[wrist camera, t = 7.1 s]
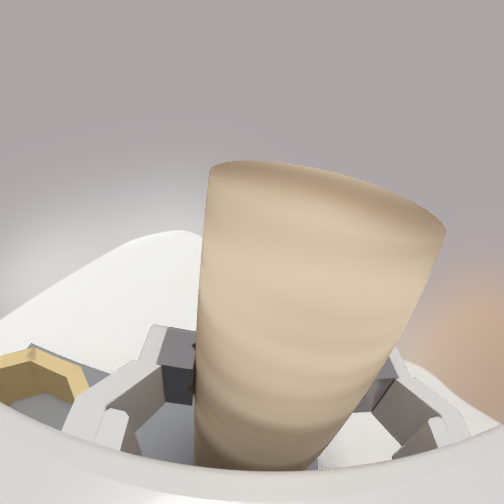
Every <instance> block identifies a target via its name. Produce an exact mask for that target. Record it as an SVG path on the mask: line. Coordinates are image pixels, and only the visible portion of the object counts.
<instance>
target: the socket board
mask: <svg viewBox="0 0 504 504" xmlns="http://www.w3.org/2000/svg"><path fill="white" fill-rule="evenodd" d="M109 375H111V374H109V373H106V372H103V371H100V370H97V369H94V368H91V367H89V366H86V365H83V364H80V363H78V362H75V361H72V360H70V359H67V358H65V357H62V356H60V355H57V354H55V353H53V352H50V351H48V350H46V349H43V348H41V347H39V346H37V345H34V344H32V343H31V344H30V345H29V347H28V348H27V349H25V350H21V351H18V352H14V353H10V354H6V355H2V356H0V402H1V403H3V404H5V405H6V406H8V407H10V408H12V409H14V410H16V411H18V412H20V413H22V414H24V415H26V416H28V417H30V418H32V419H34V420H36V421H39V422H41V423H43V424H45V425H48V426H50V427H52V428H55V429H57V430H60V431H62V428H63V426H64V423H65V421H66V419H67V416H68V414H69V412H70V410H71V407H72V405H73V403H74V401H75V398H76V396H78V395H79V394H81V393H82V392H84V391H86V390H87V389H89V388H90V387H92V386H93V385H95V384H97V383H98V382H100V381H101V380H103V379H104V378H106V377H108V376H109ZM135 435H136V438H137V441H138V444H139V446H140V449H141V452H142V456H143V457H148V458H152V459H157V460H162V461H167V462H173V463H179V464H185V465H192V466H194V398H193V404H192V406H189V405H182V404H175V403H168V402H165V404H164V405H163V406H162V407H161V408H160V409H159V410H158V411H157V412H156V413H155V414H154V415H153V416H152V417H151V418H150V419H149V420H148V421H147V422H145V423H144V424H143V425H142V426H141V427H140V428H139V429H138V430H137V431H136V432H135ZM307 470H318V464H317V459H316V460H315V461H314V462H313V463H312V465H311V466H310V467H309V468H308V469H307ZM307 470H306V471H307Z"/></svg>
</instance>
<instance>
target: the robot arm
mask: <svg viewBox="0 0 504 504" xmlns="http://www.w3.org/2000/svg"><path fill="white" fill-rule="evenodd" d="M195 355H196V331H190V330H184V329H179V328H173V327H166V326H161V325H156V324H153V325H152V326H151V328H150V331H149V333H148V336H147V338H146V341H145V343H144V346H143V349H142V351H141V354H140V357H139V359H138V361H137V360H132V361H131V362H129V363H128V364H126V365H125V366H123V367H122V368H120V369H119V370H117V371H115V372H114V373H112V374H111V375H109V376H108V377H106V378H104V379H103V380H101V381H100V382H98V383H97V384H95V385H93V386H92V387H90V388H89V389H87V390H86V391H84V392H82V393H81V394H79V395H78V396H76V398H75V401H74V403H73V405H72V407H71V410H70V412H69V414H68V416H67V419H66V421H65V423H64V426H63V428H62V431H60V430H57V429H55V428H52V427H50V426H48V425H45V424H43V423H41V422H39V421H36V420H34V419H32V418H30V417H28V416H26V415H24V414H22V413H20V412H18V411H16V410H14V409H12V408H10V407H8V406H6V405H5V404H3V403H1V402H0V504H504V423H503V424H501V425H499V426H497V427H494V428H492V429H490V430H487V431H485V432H482V433H480V434H477V435H475V436H472V437H471V435H470V432H469V430H468V428H467V426H466V424H465V422H464V420H463V417H462V415H461V413H460V411H459V410H458V409H456V408H455V407H454V406H452V405H451V404H450V403H448V402H447V401H446V400H444V399H443V398H442V397H440V396H439V395H438V394H436V393H435V392H434V391H432V390H431V389H430V388H428V387H427V386H426V385H424V384H423V383H422V382H420V381H419V380H418V379H416V378H415V377H411V376H410V374H409V371H408V369H407V367H406V365H405V363H404V361H403V359H402V357H401V355H400V353H399V352H398V350H397V348H396V347H395V346H394V348H393V350H392V352H391V354H390V355H389V357H388V359H387V360H386V362H385V364H384V365H383V367H382V369H381V370H380V372H379V374H378V375H377V377H376V378H375V380H374V382H373V383H372V385H371V386H370V388H369V389H368V391H367V392H366V394H365V395H364V397H363V398H362V400H361V401H360V403H359V404H358V406H357V407H356V408H355V410H354V411H353V413H358V412H372V414H373V415H374V416H375V417H376V419H377V420H378V421H379V422H380V423H381V424H382V425H383V426H384V427H385V428H386V429H387V431H388V432H389V433H390V434H391V435H392V436H393V437H394V438H395V439H396V440H397V441H398V442H399V444H400V445H401V446H402V447H401V448H400V449H399V450H397V451H396V452H395V453H394V454H393V456H392V459H393V460H388V461H382V462H377V463H371V464H365V465H358V466H351V467H343V468H333V469H322V470H307V471H243V470H228V469H217V468H208V467H199V466H192V465H185V464H179V463H173V462H167V461H162V460H157V459H152V458H148V457H143V456H142V452H141V449H140V446H139V444H138V441H137V438H136V435H135V432H136V431H137V430H138V429H139V428H140V427H141V426H142V425H143V424H144V423H145V422H147V421H148V420H149V419H150V418H151V417H152V416H153V415H154V414H155V413H156V412H157V411H158V410H159V409H160V408H161V407H162V406H163V405H164V404H165V402H168V403H175V404H182V405H189V406H192V404H193V398H194V390H195Z"/></svg>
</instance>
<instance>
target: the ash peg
mask: <svg viewBox="0 0 504 504" xmlns="http://www.w3.org/2000/svg"><path fill="white" fill-rule="evenodd" d="M445 235H446V229H445V227H444V225H443V224H442V223H441V222H440V221H439V220H438V219H437V218H436V217H435V216H434V215H433V214H431V213H430V212H429V211H427V210H426V209H424V208H422V207H421V206H419V205H417V204H416V203H414V202H412V201H410V200H408V199H406V198H404V197H402V196H400V195H398V194H396V193H394V192H391V191H389V190H387V189H384V188H382V187H379V186H376V185H374V184H371V183H368V182H365V181H362V180H359V179H356V178H352V177H349V176H346V175H342V174H338V173H335V172H331V171H327V170H322V169H317V168H313V167H307V166H302V165H296V164H288V163H281V162H271V161H233V162H226V163H221V164H218V165H215V166H214V167H212V168H211V170H210V172H209V180H208V189H207V200H206V209H205V219H204V230H203V241H202V252H201V265H200V279H199V294H198V310H197V329H196V355H195V390H194V466H199V467H208V468H217V469H228V470H243V471H306V470H307V469H308V468H309V467H310V466H311V465H312V463H313V462H314V461H315V460H316V459H317V458H318V456H319V455H320V454H321V453H322V452H323V450H324V449H325V448H326V447H327V446H328V444H329V443H330V442H331V441H332V439H333V438H334V437H335V435H336V434H337V433H338V432H339V430H340V429H341V428H342V426H343V425H344V424H345V422H346V421H347V420H348V418H349V417H350V415H351V414H352V413H353V411H354V410H355V408H356V407H357V406H358V404H359V403H360V401H361V400H362V398H363V397H364V395H365V394H366V392H367V391H368V389H369V388H370V386H371V385H372V383H373V382H374V380H375V378H376V377H377V375H378V374H379V372H380V370H381V369H382V367H383V365H384V364H385V362H386V360H387V359H388V357H389V355H390V354H391V352H392V350H393V348H394V346H395V345H396V343H397V341H398V339H399V337H400V335H401V334H402V332H403V330H404V328H405V326H406V324H407V322H408V320H409V318H410V316H411V314H412V312H413V310H414V308H415V306H416V304H417V302H418V300H419V298H420V295H421V294H422V291H423V289H424V287H425V285H426V282H427V280H428V278H429V276H430V273H431V271H432V268H433V266H434V263H435V261H436V259H437V255H438V254H439V251H440V248H441V245H442V243H443V240H444V237H445Z"/></svg>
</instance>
